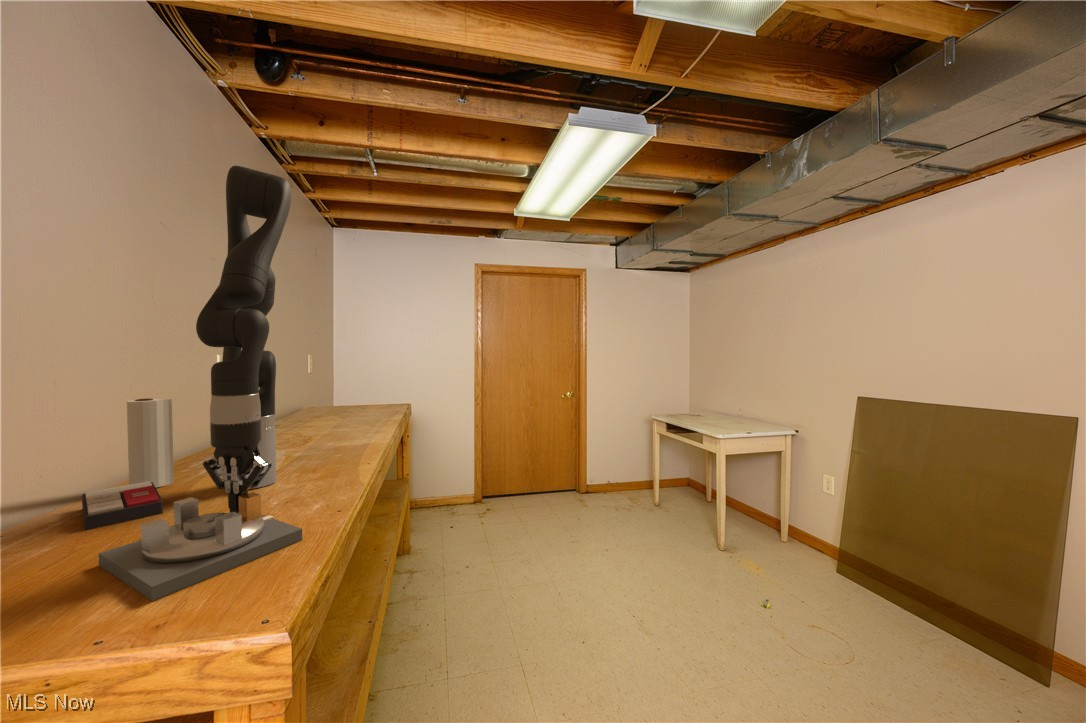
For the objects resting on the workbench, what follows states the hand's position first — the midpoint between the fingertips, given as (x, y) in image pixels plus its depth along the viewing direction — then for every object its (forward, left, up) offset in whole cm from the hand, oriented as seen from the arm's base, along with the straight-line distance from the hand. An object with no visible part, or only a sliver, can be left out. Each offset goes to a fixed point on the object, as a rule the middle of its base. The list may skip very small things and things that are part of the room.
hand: (238, 511), depth 78 cm
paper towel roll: (-46, +3, -4) cm, 46 cm away
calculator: (-32, -6, -5) cm, 33 cm away
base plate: (+3, -6, -4) cm, 8 cm away
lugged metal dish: (+3, -6, -2) cm, 7 cm away
